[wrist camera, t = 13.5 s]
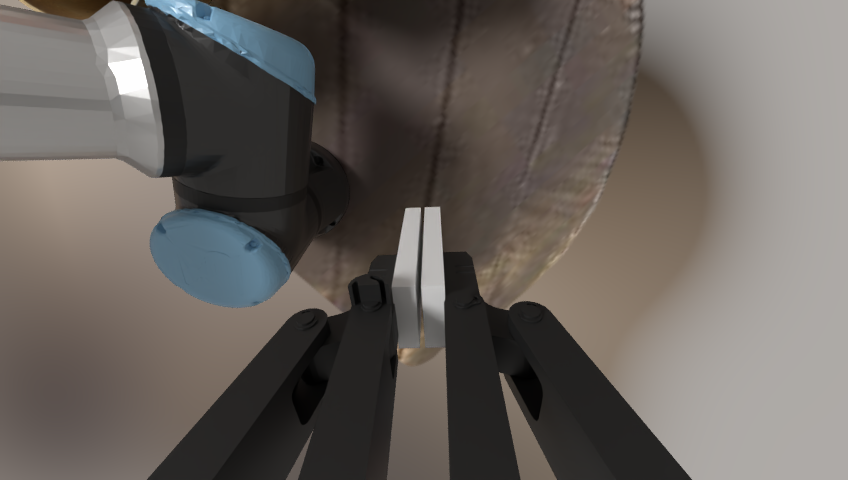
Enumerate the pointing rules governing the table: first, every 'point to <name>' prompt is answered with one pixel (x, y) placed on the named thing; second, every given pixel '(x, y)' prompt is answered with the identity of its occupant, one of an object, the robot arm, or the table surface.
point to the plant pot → (77, 6)
